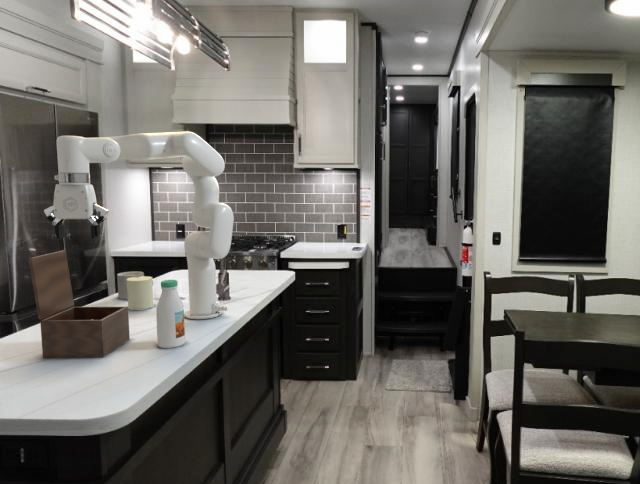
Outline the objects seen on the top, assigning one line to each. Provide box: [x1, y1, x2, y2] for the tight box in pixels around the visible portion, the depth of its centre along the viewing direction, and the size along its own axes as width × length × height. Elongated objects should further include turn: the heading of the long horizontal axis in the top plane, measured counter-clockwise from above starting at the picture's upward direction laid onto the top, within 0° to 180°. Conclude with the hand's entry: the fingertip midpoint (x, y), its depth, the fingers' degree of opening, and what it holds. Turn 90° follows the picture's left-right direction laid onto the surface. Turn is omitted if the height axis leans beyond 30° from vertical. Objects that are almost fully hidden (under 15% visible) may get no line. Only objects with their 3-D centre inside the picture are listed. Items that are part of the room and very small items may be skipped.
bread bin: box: [39, 306, 131, 359], centre depth 147 cm, size 17×16×11 cm
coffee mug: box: [116, 271, 154, 300], centre depth 211 cm, size 13×10×10 cm
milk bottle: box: [156, 279, 186, 349], centre depth 151 cm, size 8×8×20 cm
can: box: [127, 275, 155, 311], centre depth 194 cm, size 9×9×12 cm
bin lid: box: [28, 249, 75, 320], centre depth 145 cm, size 17×16×1 cm
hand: (78, 238), depth 144 cm, fingers open, 9 cm apart
